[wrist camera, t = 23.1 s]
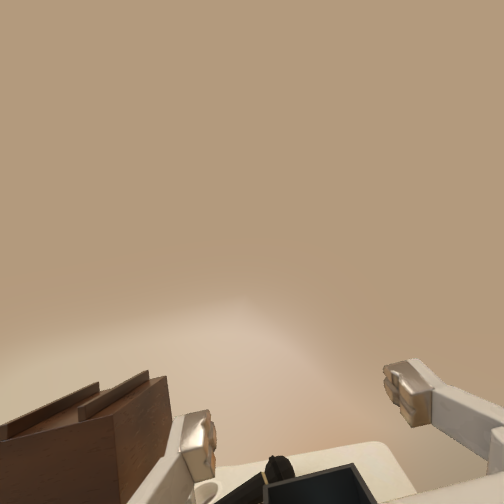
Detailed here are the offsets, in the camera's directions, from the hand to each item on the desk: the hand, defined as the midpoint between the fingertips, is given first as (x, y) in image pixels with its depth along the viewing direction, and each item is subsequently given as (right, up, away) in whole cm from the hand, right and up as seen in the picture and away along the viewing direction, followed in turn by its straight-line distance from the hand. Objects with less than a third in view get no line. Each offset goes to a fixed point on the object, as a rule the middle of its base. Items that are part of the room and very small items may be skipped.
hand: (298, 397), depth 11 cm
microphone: (-4, -36, +28) cm, 46 cm away
